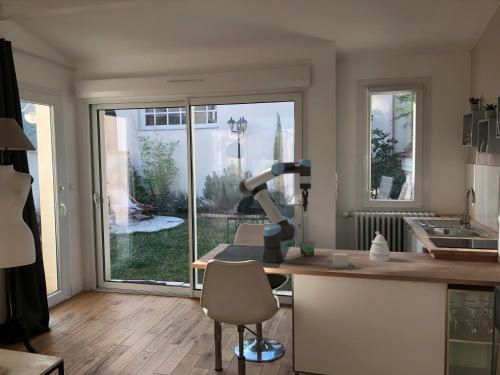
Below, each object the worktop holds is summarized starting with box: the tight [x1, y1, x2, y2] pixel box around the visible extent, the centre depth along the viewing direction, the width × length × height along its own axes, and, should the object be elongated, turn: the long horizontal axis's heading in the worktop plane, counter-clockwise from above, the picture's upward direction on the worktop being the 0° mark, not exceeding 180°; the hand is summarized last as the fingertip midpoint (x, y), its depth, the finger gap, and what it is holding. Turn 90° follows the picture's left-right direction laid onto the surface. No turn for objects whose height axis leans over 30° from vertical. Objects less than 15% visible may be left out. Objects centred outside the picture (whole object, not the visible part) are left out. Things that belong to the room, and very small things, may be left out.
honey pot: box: [369, 231, 391, 262], centre depth 281 cm, size 13×13×18 cm
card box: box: [332, 252, 349, 266], centre depth 264 cm, size 5×9×7 cm, turn 81°
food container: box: [298, 240, 316, 258], centre depth 291 cm, size 12×6×10 cm, turn 112°
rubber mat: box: [327, 261, 354, 270], centre depth 264 cm, size 15×13×1 cm
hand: (305, 215), depth 276 cm, fingers open, 13 cm apart
